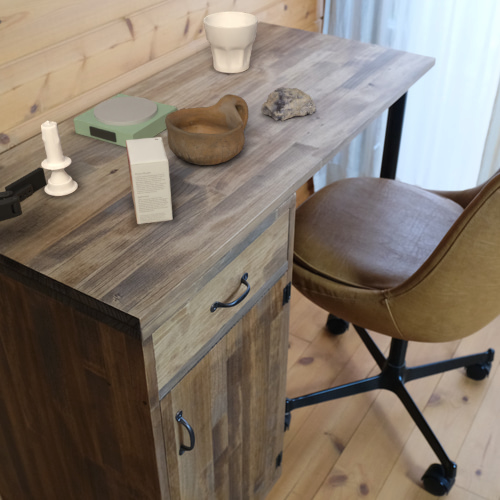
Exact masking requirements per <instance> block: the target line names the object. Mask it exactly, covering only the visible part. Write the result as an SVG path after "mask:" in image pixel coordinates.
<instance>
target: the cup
mask: <svg viewBox="0 0 500 500" xmlns="http://www.w3.org/2000/svg"><path fill="white" fill-rule="evenodd" d="M202 19H203V21H202V22H203V26H204V33H205V38H206V40H207V42H208V43H209V47H210V51H211V52H210V53H211V57H212V62H213V69H214V70H215V71H217V72H219V73H223V74H239V73H244V72H245V71H248V69H249V68H250V62H251V56H252V50H253V45H254V42H255V41H256V39H257V30H258V25H259V19H258V17H257V16H256V15H254V14H252V13H248V12H244V11H235V10H233V11H232V10H231V11H220V12H213V13H210V14H208V15H206V16H205V17H203V18H202Z"/></svg>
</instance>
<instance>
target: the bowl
mask: <svg viewBox="0 0 500 500" xmlns="http://www.w3.org/2000/svg"><path fill="white" fill-rule="evenodd" d="M248 122H249V106H248V103H247V102H246V100H245V99H244V98H243V97H241V96H239V95H236V94H230V93H229V94H225V95H223V96H222V97H220V98H219V100H218V101H217V102H216V103H215V104H213V105H210V106H206V107H205V106H199V107H188V108H181V109H177V111H175V112H172V113H170V114H168V115H167V116H166V119H165V123H166V127H167V129H166V130H167V131H166V132H167V144H168V147H169V150H170V151H171V152H173V154H175V155H176V156H177V158H180V159H181V160H183V161H185V162H188V163H191V164H193V165H198V166H212V165H213V166H214V165H219V164H222V163H225V162H228V161H230V160H232V159H233V158H235V157H236V156H237V155H239V153H240V152H241V151H242V150H243V149H244V145H245V141H246V139H245V137H246V135H245V132H244V131H245V129H246V127H247V124H248Z"/></svg>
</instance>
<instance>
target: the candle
mask: <svg viewBox="0 0 500 500" xmlns="http://www.w3.org/2000/svg"><path fill="white" fill-rule="evenodd" d="M58 127H59V126H58V122H56V121H51V120H49V119H47V120H46V121H44V122H43V123H41V125H40V130H41V131H40V132H41V139H42V141H43V145H44V150H45V156H46V158H44V159H43V160H42V161H41V168H43V169H45V170H47V171H51V175H50V177H49V178H48V180H47V183H46V184H47V185H46V186H44V192H45V193H46V195H49V196H51V197H64V196H67V195H71V194H73V193H74V192H75V191H76V190H78V187H79V185H78V182H76V181H75V180H73V178H72V176H71V175H69V174H68V173H67V172H66V170H65V168H67V167H69V166H70V165H71V164H72V159H71V158H70V157H68V156H66V155H64V151H63V145H62V138H61V135H60V131H59V128H58Z"/></svg>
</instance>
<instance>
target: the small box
mask: <svg viewBox="0 0 500 500" xmlns="http://www.w3.org/2000/svg"><path fill="white" fill-rule="evenodd" d="M125 148H126V157H127V165H128V166H127V167H128V174H129V179H130V180H129V182H130V190H131V197H132V202H133V207H134V208H133V209H134V213H135V214H134V215H135V219H136V224H137V225H145V224H151V223H161V222H168V221H173V219H174V218H173V206H172V205H173V204H172V191H171V179H170V178H171V177H170V163H169V159H168V157H167V153H166V150H165V146H164V140H163V137H162V136H154V137H153V138H144V139H133V140H126V147H125Z"/></svg>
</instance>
